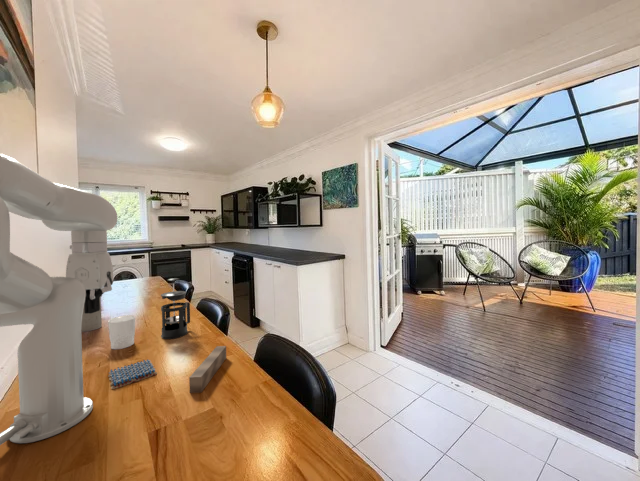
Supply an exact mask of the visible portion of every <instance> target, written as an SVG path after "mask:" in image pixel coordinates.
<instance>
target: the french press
mask: <svg viewBox="0 0 640 481" xmlns="http://www.w3.org/2000/svg"><path fill="white" fill-rule="evenodd" d="M178 280H180V278H177V277H174V278H173V277H172V278H168V279H167V281H171V283H172V291H168V292H164V293H161V294H160V297H161V299H162V300H165V299H167V300H169V301H171V303H167V304H164V305H161V306H160V308H161V309H160V311H161V322H162V324H161V325H162V326H161V336H160V337H161V338H162V339H164V340H174V339H179V338H181V337H184V336H186V335H187V334H188V332H189V331H188V324H190V323H191V305H190V304H191V303H190V302H189V301H188V302H187V301H186V302H178V301H180V300H184V299H185V298H186V294H187V291H184V290H175V283H176V281H178ZM175 301H177V302H175ZM176 306H177V307H176ZM178 306H179V307H178ZM171 307H172V308H171ZM172 312H173V316H171V313H172ZM176 312H178V315H175V314H176Z"/></svg>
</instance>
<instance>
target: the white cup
mask: <svg viewBox="0 0 640 481" xmlns="http://www.w3.org/2000/svg"><path fill="white" fill-rule="evenodd" d="M107 325H108V334H109V336H108V337H109V341H110V348H111V349H112V350H121V349H125V348H129V347H131V346H132V345H134V344H135V334H136V333H135V332H136V316H135V315H133V314H132V315H130V314H128V315H120V316H117V317H113V318H110V319H108V321H107Z"/></svg>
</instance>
